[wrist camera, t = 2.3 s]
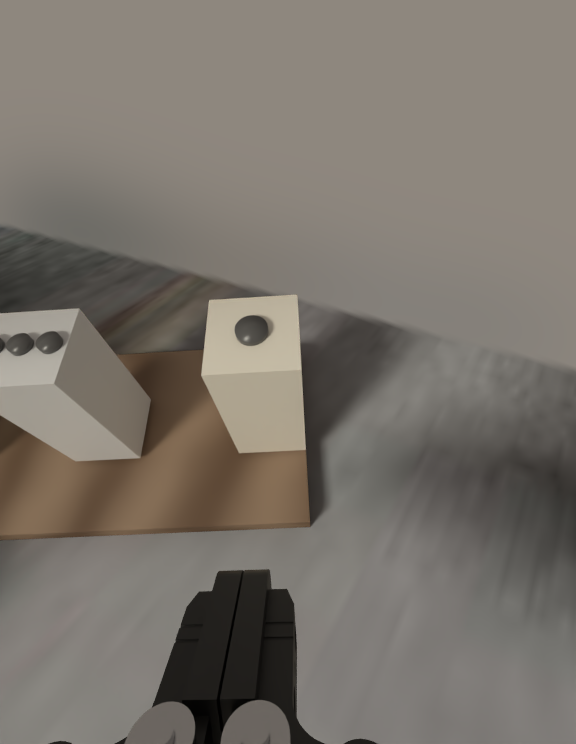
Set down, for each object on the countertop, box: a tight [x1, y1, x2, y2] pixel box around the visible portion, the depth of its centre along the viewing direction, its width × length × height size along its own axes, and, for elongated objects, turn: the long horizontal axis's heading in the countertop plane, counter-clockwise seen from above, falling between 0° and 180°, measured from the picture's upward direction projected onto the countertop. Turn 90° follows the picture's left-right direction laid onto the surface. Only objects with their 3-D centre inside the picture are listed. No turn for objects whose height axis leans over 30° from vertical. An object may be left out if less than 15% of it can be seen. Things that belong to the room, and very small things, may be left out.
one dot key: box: [201, 295, 306, 453], centre depth 20 cm, size 4×4×9 cm
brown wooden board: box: [0, 350, 310, 540], centre depth 25 cm, size 24×12×2 cm, turn 92°
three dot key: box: [0, 308, 151, 461], centre depth 20 cm, size 4×4×9 cm
